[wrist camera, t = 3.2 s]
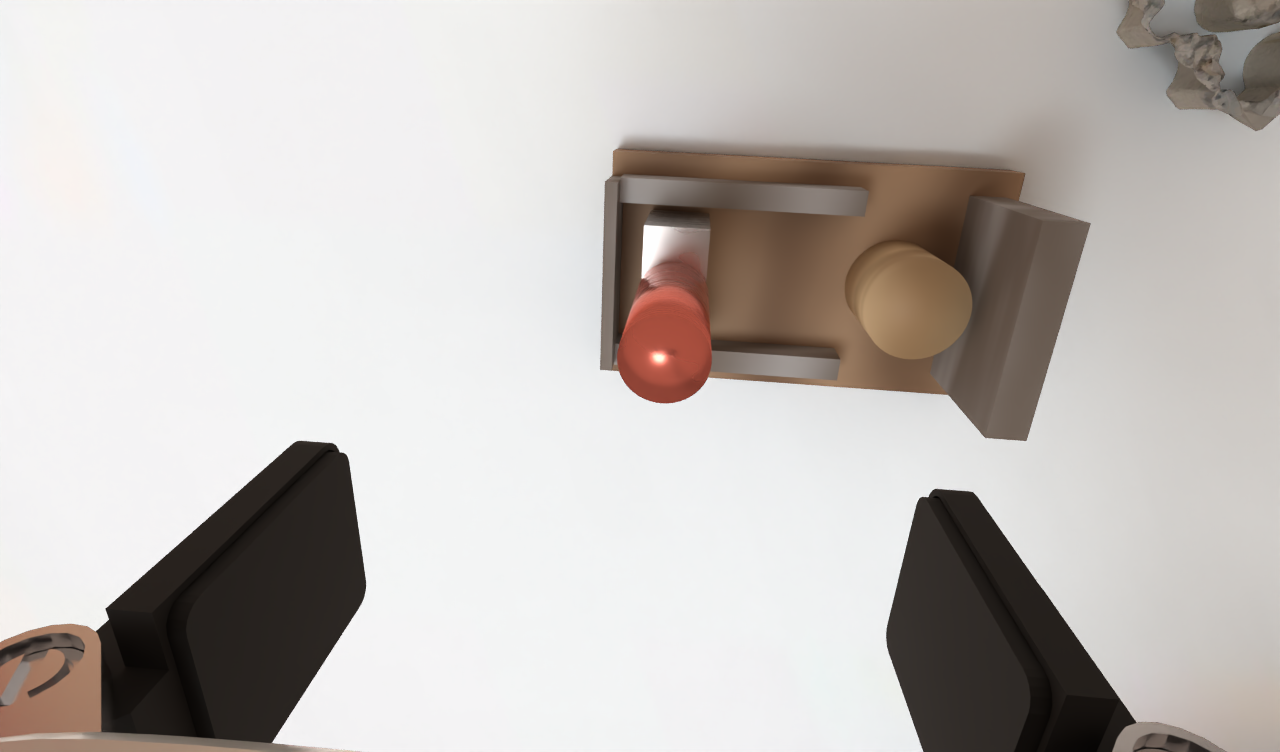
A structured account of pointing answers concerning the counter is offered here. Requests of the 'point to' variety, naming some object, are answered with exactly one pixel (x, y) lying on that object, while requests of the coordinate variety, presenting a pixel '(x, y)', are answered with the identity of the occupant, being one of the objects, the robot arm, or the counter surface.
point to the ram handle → (669, 311)
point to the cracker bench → (822, 255)
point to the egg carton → (1216, 57)
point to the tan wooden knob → (908, 299)
